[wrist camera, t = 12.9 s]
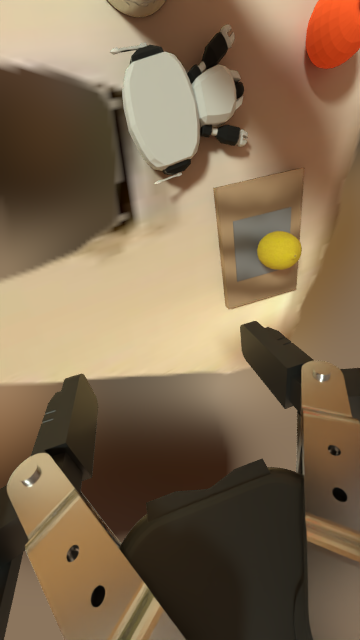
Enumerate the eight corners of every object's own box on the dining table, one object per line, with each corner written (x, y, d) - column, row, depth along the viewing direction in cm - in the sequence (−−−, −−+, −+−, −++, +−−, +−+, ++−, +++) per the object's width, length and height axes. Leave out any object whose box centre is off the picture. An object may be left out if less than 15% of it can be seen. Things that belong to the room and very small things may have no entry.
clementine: (301, -18, 27) (356, -83, 20) (351, -10, 28) (416, -68, 22) (288, 77, 30) (331, 46, 24) (332, 80, 32) (384, 52, 26)
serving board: (213, 188, 34) (217, 187, 33) (297, 168, 36) (305, 167, 34) (225, 305, 44) (229, 309, 43) (291, 286, 46) (296, 289, 44)
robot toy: (221, 32, 28) (104, 69, 26) (241, 4, 24) (105, 46, 22) (239, 152, 34) (146, 188, 32) (257, 145, 30) (152, 186, 28)
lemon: (283, 231, 38) (319, 238, 31) (271, 264, 41) (303, 277, 34) (254, 225, 37) (286, 231, 30) (244, 260, 39) (271, 273, 32)
